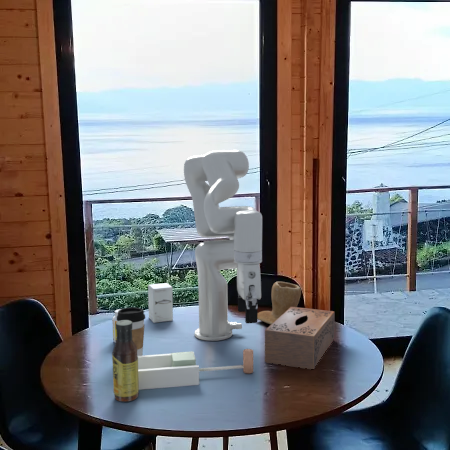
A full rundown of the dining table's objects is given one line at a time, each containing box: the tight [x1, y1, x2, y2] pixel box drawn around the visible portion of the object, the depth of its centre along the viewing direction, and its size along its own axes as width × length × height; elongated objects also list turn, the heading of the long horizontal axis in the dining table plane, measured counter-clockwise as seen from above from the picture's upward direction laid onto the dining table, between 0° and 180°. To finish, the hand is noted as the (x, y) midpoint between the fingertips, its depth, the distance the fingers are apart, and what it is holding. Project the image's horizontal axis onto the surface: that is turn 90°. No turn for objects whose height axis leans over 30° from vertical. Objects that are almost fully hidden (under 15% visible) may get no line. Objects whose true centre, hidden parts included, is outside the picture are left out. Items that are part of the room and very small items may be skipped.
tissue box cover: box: [264, 306, 335, 370], centre depth 175 cm, size 26×14×10 cm, turn 157°
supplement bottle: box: [112, 308, 122, 344], centre depth 185 cm, size 6×6×10 cm
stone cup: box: [257, 281, 302, 325], centre depth 201 cm, size 15×12×15 cm
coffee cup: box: [117, 307, 146, 356], centre depth 169 cm, size 8×8×15 cm
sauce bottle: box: [111, 320, 140, 403], centre depth 143 cm, size 6×6×20 cm
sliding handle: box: [170, 348, 254, 374], centre depth 157 cm, size 22×6×6 cm, turn 100°
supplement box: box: [147, 282, 174, 324], centre depth 208 cm, size 7×7×13 cm
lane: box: [138, 351, 200, 391], centre depth 155 cm, size 18×11×6 cm, turn 100°
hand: (247, 316), depth 158 cm, fingers open, 9 cm apart
